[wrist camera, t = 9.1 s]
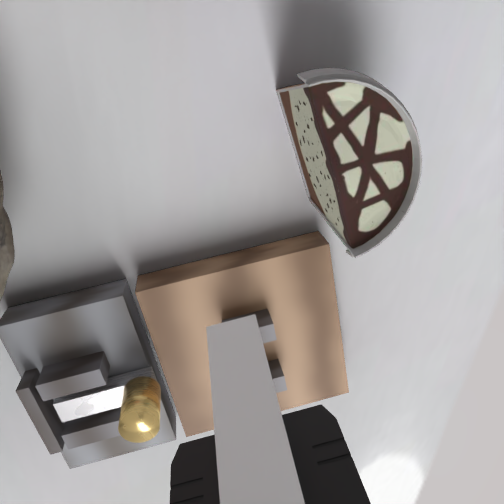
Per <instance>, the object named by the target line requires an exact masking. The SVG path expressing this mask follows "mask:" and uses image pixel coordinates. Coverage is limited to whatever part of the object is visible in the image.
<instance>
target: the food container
mask: <svg viewBox="0 0 504 504" xmlns="http://www.w3.org/2000/svg"><path fill="white" fill-rule="evenodd" d="M297 76H298V77H299V78H300V79H301V80H303V81H304V82H305V83H303V84H298V85H293V86H288V87H284V88H281V89H278V90H276V92H277V95H278V98H279V102H280V105H281V108H282V112H283V115H284V118H285V122H286V125H287V128H288V132H289V135H290V138H291V141H292V145H293V148H294V151H295V155H296V158H297V161H298V165H299V168H300V171H301V175H302V178H303V181H304V185H305V188H306V191H307V195H308V198H309V201H310V202H311V203H312V204H313V206H314V207H315V208H316V209H317V211H318V212H319V213H320V215H321V216H322V217H323V218H324V220H325V221H326V222H327V223H328V225H329V226H330V227H331V228H332V230H333V231H334V232H335V233H336V235H337V236H338V237H339V238H340V240H341V241H342V242H343V244H344V245H345V246H346V247H347V249H348V250H346V253H348V254H349V255H350V256H352V257H355V258H356V257H359V256H361V255H363V254H365V253H367V252H369V251H370V250H372V249H373V248H375V247H376V246H378V245H379V244H380V243H382V242H383V241H384V240H385V239H386V238H387V237H389V236H390V235H391V234H392V232H393V231H394V230H395V229H396V228H397V227H398V226H399V224H400V223H401V222H402V220H403V219H404V217H405V216H406V214H407V213H408V211H409V209H410V207H411V205H412V203H413V201H414V198H415V195H416V193H417V190H418V186H419V181H420V177H421V166H422V156H421V146H420V142H419V138H418V134H417V130H416V127H415V125H414V123H413V120H412V118H411V116H410V114H409V113H408V111H407V110H406V108H405V107H404V105H403V104H402V103H401V102H400V101H399V100H398V98H397V97H396V96H395V95H394V94H393V93H392V92H390V91H389V90H388V89H387V88H385V87H384V86H383V85H381V84H380V83H378V82H377V81H375V80H374V79H373V78H370V77H368V76H366V75H364V74H361V73H359V72H356V71H352V70H347V69H342V68H321V69H312V70H308V71H305V72H301V73H298V74H297Z"/></svg>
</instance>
